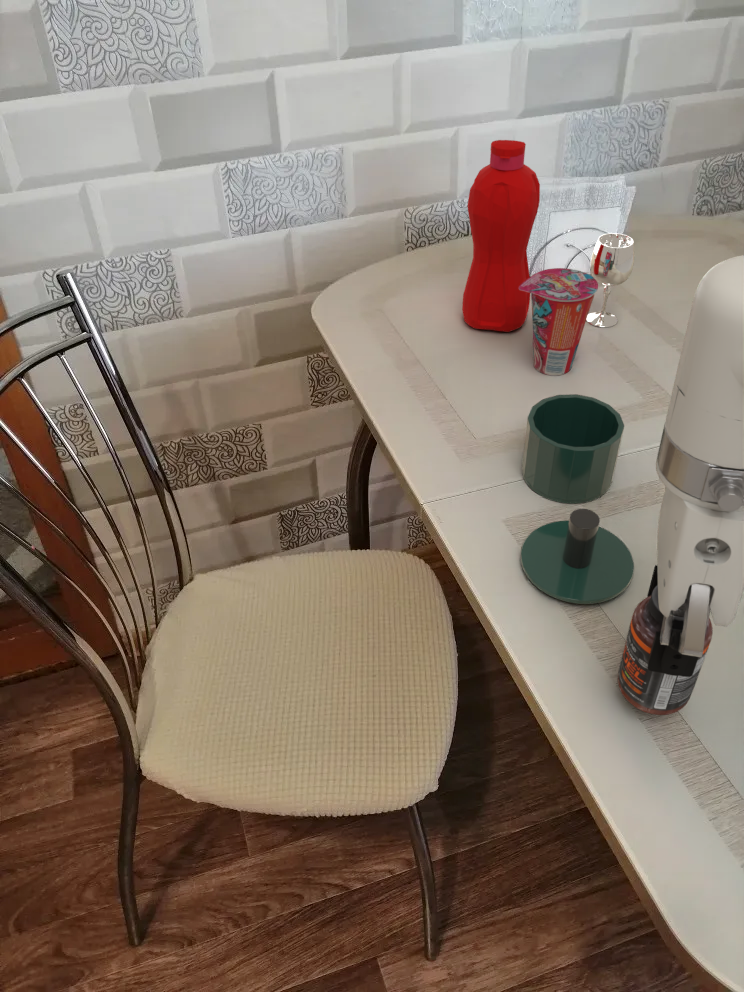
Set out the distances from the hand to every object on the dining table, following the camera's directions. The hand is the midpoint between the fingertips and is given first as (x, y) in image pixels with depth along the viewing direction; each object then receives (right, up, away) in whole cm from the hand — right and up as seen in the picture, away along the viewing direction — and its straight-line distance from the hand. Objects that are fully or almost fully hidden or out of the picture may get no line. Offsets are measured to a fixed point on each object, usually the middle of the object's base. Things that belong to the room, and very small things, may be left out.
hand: (668, 634), depth 62 cm
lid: (-3, +4, +18) cm, 18 cm away
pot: (-1, +13, +28) cm, 31 cm away
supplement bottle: (0, -5, +5) cm, 7 cm away
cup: (+1, +28, +45) cm, 53 cm away
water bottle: (-5, +37, +55) cm, 67 cm away
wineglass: (+10, +36, +54) cm, 66 cm away
